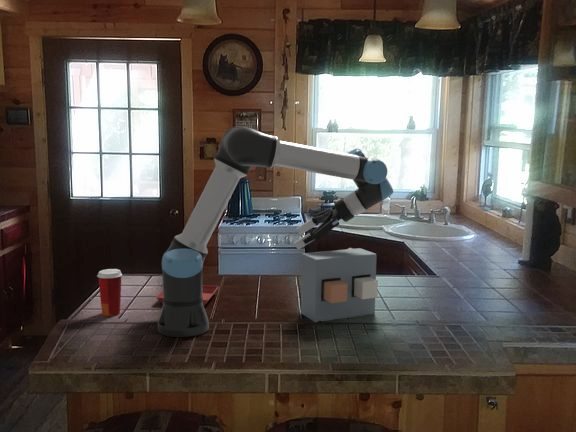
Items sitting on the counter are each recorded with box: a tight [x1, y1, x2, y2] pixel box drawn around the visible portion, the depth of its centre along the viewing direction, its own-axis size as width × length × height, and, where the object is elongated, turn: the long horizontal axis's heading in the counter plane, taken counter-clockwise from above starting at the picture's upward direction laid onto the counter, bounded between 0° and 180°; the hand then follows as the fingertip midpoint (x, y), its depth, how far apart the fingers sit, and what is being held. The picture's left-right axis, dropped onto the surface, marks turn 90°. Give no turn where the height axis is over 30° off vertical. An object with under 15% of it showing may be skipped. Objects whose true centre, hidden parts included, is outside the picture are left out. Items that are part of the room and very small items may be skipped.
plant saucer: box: [155, 285, 219, 307], centre depth 220 cm, size 18×18×3 cm
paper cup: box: [96, 268, 123, 317], centre depth 202 cm, size 8×8×14 cm
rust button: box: [324, 280, 347, 303], centre depth 195 cm, size 5×6×6 cm
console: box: [300, 247, 378, 323], centre depth 204 cm, size 10×22×20 cm, turn 115°
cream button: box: [354, 277, 379, 299], centre depth 199 cm, size 5×6×6 cm
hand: (296, 238), depth 216 cm, fingers open, 13 cm apart
